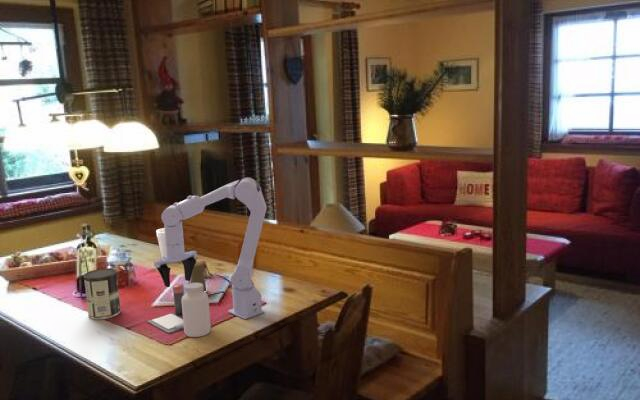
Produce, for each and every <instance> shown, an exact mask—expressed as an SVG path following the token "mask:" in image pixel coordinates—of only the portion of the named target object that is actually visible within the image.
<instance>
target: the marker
mask: <svg viewBox="0 0 640 400" xmlns="http://www.w3.org/2000/svg"><path fill="white" fill-rule="evenodd" d="M184 288H185V286H184V284H183V283H177V284H174V285H173V286H172V293H173V304H174V314H176V315H178V316H183V312H182V296H183V295H184V294H185V290H184Z"/></svg>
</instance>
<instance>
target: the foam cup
mask: <svg viewBox="0 0 640 400" xmlns="http://www.w3.org/2000/svg"><path fill="white" fill-rule="evenodd" d="M164 230H165V227H163V228H159V229H156V231H155V233H156V238H157V242H158V247H159V250H160V254H161V258H163V257H165V256H167V255H166V243H165V231H164Z"/></svg>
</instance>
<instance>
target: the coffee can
mask: <svg viewBox="0 0 640 400" xmlns="http://www.w3.org/2000/svg"><path fill="white" fill-rule="evenodd" d="M83 279H84V280H83V281H84V287H85V297H86V305H87V312H88V313H87V314H88V315H87V317H88V318H89V319H91V320H97V321H99V320H107V319H112V318H114V317H116V316H118V315H119V314H120V313H121V311H122V310H121V309H122V308H121V304H120V302H121V301H120V295H119V293H120V292H119V284H118V283H119V282H118V270H116V269H114V268H107V267H106V268H99V269H94V270H89V271H88V272H86V273H84V274H83Z"/></svg>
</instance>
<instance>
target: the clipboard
mask: <svg viewBox="0 0 640 400" xmlns="http://www.w3.org/2000/svg"><path fill="white" fill-rule="evenodd" d="M146 323H148V324H150V325H152V326H154V327H155V328H157V329H159V330H160V331H163V332H165V333H166V334H168V335H169V334H173V333H176V332H178V331H181V330H184V324H183V316H182V317H181V315H176V314H175V312H171V313H168V314H165V315H161V316H159V317H155V318H152V319H150V320H147V322H146Z"/></svg>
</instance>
